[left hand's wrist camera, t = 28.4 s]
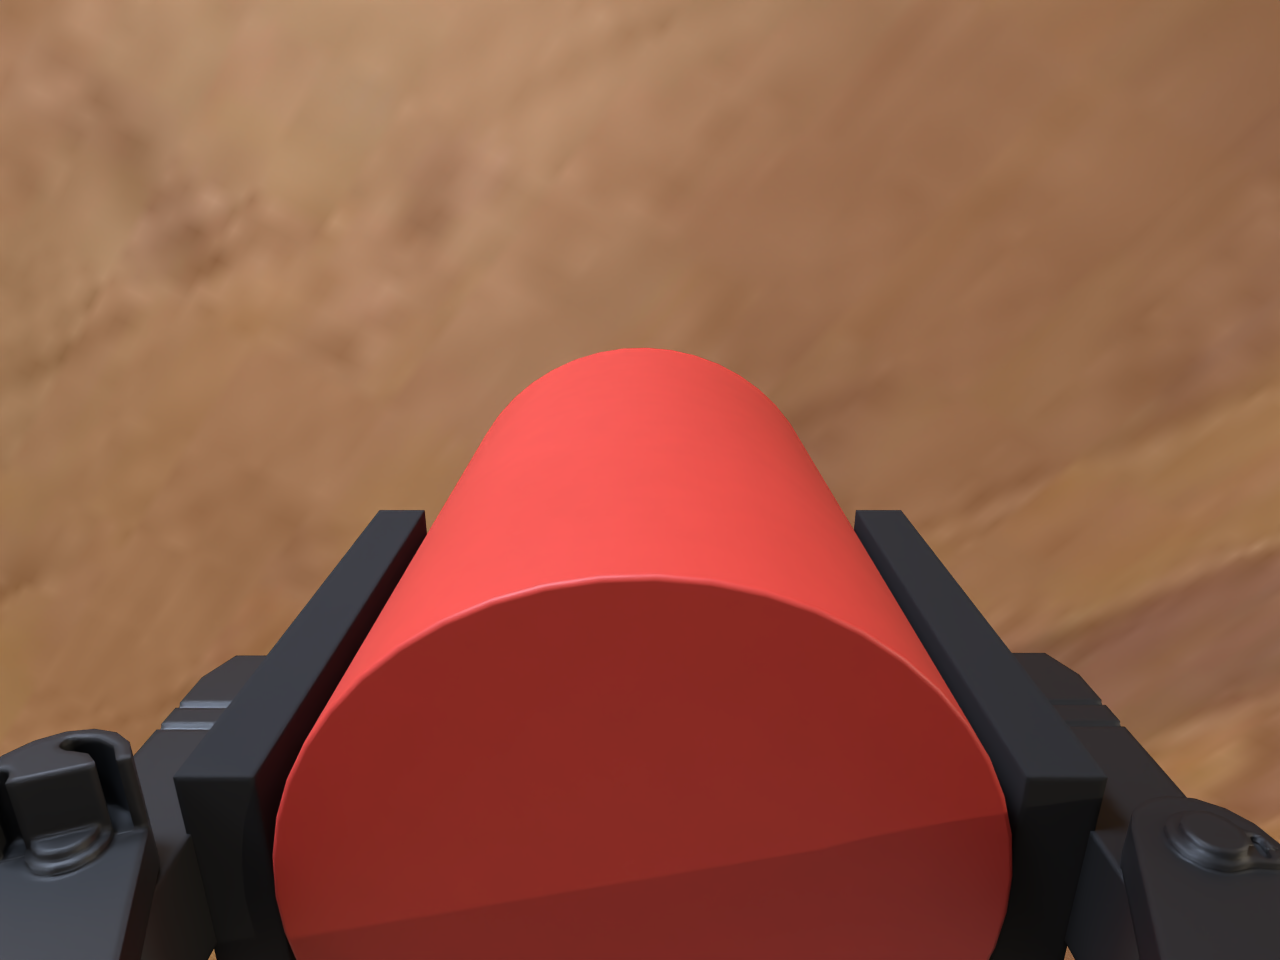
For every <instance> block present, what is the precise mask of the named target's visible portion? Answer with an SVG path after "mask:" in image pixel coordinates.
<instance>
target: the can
mask: <svg viewBox="0 0 1280 960" xmlns="http://www.w3.org/2000/svg"><path fill="white" fill-rule="evenodd" d="M273 869H274V882H275V895H276V900H277V904H278V908H279V912H280V916H281V920H282V924H283V928H284V932H285V934H286V937H287V939H288V941H289V944H290V946H291V948H292V951H293V953H294V955H295V958H296V960H989V958H990V956H991V955H992V953H993V951H994V949H995V946H996V943H997V940H998V937H999V934H1000V931H1001V928H1002V925H1003V922H1004V919H1005V916H1006V913H1007V907H1008V900H1009V894H1010V888H1011V881H1012V833H1011V828H1010V823H1009V818H1008V812H1007V807H1006V802H1005V797H1004V794H1003V791H1002V789H1001V786H1000V783H999V781H998V778H997V775H996V773H995V770H994V767H993V765H992V762H991V759H990V757H989V756H988V754H987V752H986V751H985V749H984V747H983V745H982V744H981V742H980V740H979V739H978V737H977V735H976V733H975V732H974V730H973V728H972V727H971V725H970V723H969V722H968V720H967V718H966V717H965V715H964V713H963V712H962V710H961V708H960V707H959V705H958V703H957V701H956V700H955V698H954V696H953V695H952V693H951V691H950V690H949V688H948V686H947V685H946V683H945V681H944V680H943V678H942V676H941V675H940V673H939V671H938V670H937V668H936V666H935V665H934V663H933V661H932V660H931V658H930V656H929V655H928V653H927V651H926V650H925V648H924V646H923V645H922V643H921V641H920V640H919V638H918V636H917V635H916V633H915V631H914V630H913V628H912V626H911V625H910V623H909V621H908V620H907V618H906V616H905V615H904V613H903V611H902V610H901V608H900V606H899V605H898V603H897V601H896V600H895V598H894V596H893V595H892V593H891V591H890V590H889V588H888V586H887V585H886V583H885V581H884V580H883V578H882V576H881V575H880V573H879V571H878V570H877V568H876V566H875V565H874V563H873V561H872V560H871V558H870V556H869V555H868V553H867V551H866V550H865V548H864V546H863V545H862V543H861V541H860V540H859V538H858V536H857V535H856V533H855V531H854V530H853V528H852V526H851V525H850V523H849V521H848V519H847V518H846V516H845V514H844V513H843V511H842V509H841V508H840V506H839V504H838V503H837V501H836V499H835V498H834V496H833V494H832V493H831V491H830V489H829V488H828V486H827V484H826V483H825V481H824V479H823V478H822V476H821V474H820V473H819V471H818V469H817V468H816V466H815V464H814V463H813V461H812V459H811V458H810V456H809V454H808V453H807V451H806V449H805V448H804V446H803V444H802V443H801V441H800V439H799V438H798V436H797V434H796V433H795V431H794V429H793V428H792V426H791V424H790V423H789V422H788V420H787V419H786V418H785V416H784V415H783V414H782V413H781V411H780V410H779V409H778V408H777V406H776V405H775V404H774V403H773V402H772V401H771V400H770V399H768V398H767V397H766V396H765V395H764V394H763V393H762V392H761V391H760V390H759V389H758V388H756V387H755V386H754V385H752V384H751V383H749V382H748V381H747V380H745V379H744V378H742V377H741V376H740V375H738V374H736V373H734V372H732V371H730V370H728V369H726V368H725V367H723V366H721V365H719V364H717V363H714V362H711V361H708V360H706V359H703V358H700V357H698V356H695V355H690V354H686V353H681V352H677V351H673V350H664V349H653V348H631V349H618V350H612V351H606V352H600V353H596V354H593V355H590V356H586V357H583V358H580V359H576V360H574V361H571V362H569V363H567V364H565V365H563V366H561V367H558V368H556V369H554V370H552V371H550V372H549V373H547V374H546V375H544V376H543V377H541V378H539V379H538V380H536V381H535V382H533V383H532V384H531V385H529V386H528V387H527V388H526V389H525V390H523V391H522V392H521V393H520V394H519V395H517V396H516V397H515V398H514V399H513V400H512V401H511V402H510V404H509V405H508V406H507V407H506V408H505V409H504V410H503V411H502V412H501V413H500V415H499V416H498V417H497V419H496V420H495V422H494V423H493V425H492V426H491V428H490V429H489V431H488V432H487V434H486V435H485V437H484V439H483V440H482V442H481V444H480V446H479V447H478V449H477V451H476V452H475V454H474V456H473V457H472V459H471V461H470V462H469V464H468V466H467V468H466V469H465V471H464V473H463V474H462V476H461V478H460V479H459V481H458V483H457V484H456V486H455V488H454V490H453V491H452V493H451V495H450V496H449V498H448V500H447V501H446V503H445V505H444V506H443V508H442V510H441V512H440V513H439V515H438V517H437V518H436V520H435V522H434V523H433V525H432V527H431V528H430V530H429V532H428V534H427V535H426V537H425V539H424V540H423V542H422V544H421V545H420V547H419V549H418V550H417V552H416V554H415V556H414V557H413V559H412V561H411V562H410V564H409V566H408V567H407V569H406V571H405V572H404V574H403V576H402V578H401V579H400V581H399V583H398V584H397V586H396V588H395V589H394V591H393V593H392V594H391V596H390V598H389V600H388V601H387V603H386V605H385V606H384V608H383V610H382V611H381V613H380V615H379V616H378V618H377V620H376V622H375V623H374V625H373V627H372V628H371V630H370V632H369V633H368V635H367V637H366V639H365V640H364V642H363V644H362V645H361V647H360V649H359V650H358V652H357V654H356V655H355V657H354V659H353V661H352V662H351V664H350V666H349V667H348V669H347V671H346V672H345V674H344V676H343V677H342V679H341V681H340V683H339V684H338V686H337V688H336V689H335V691H334V693H333V694H332V696H331V698H330V699H329V701H328V703H327V705H326V706H325V708H324V710H323V711H322V713H321V715H320V716H319V718H318V720H317V721H316V723H315V725H314V727H313V728H312V730H311V732H310V733H309V735H308V737H307V738H306V740H305V742H304V744H303V746H302V748H301V750H300V752H299V754H298V757H297V759H296V761H295V763H294V765H293V767H292V769H291V771H290V774H289V776H288V778H287V780H286V784H285V788H284V791H283V795H282V799H281V802H280V806H279V810H278V813H277V817H276V826H275V837H274V847H273Z"/></svg>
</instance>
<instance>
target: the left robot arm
mask: <svg viewBox="0 0 1280 960" xmlns="http://www.w3.org/2000/svg"><path fill="white" fill-rule="evenodd" d="M854 531H855V533H856V535H857V536H858V538H859V540H860V541H861V543H862V545H863V546H864V548H865V550H866V551H867V553H868V555H869V556H870V558H871V560H872V561H873V563H874V565H875V566H876V568H877V570H878V571H879V573H880V575H881V576H882V578H883V580H884V581H885V583H886V585H887V586H888V588H889V590H890V591H891V593H892V595H893V596H894V598H895V600H896V601H897V603H898V605H899V606H900V608H901V610H902V611H903V613H904V615H905V616H906V618H907V620H908V621H909V623H910V625H911V626H912V628H913V630H914V631H915V633H916V635H917V636H918V638H919V640H920V641H921V643H922V645H923V646H924V648H925V650H926V651H927V653H928V655H929V656H930V658H931V660H932V661H933V663H934V665H935V666H936V668H937V670H938V671H939V673H940V675H941V676H942V678H943V680H944V681H945V683H946V685H947V686H948V688H949V690H950V691H951V693H952V695H953V696H954V698H955V700H956V701H957V703H958V705H959V707H960V708H961V710H962V712H963V713H964V715H965V717H966V718H967V720H968V722H969V723H970V725H971V727H972V728H973V730H974V732H975V733H976V735H977V737H978V739H979V740H980V742H981V744H982V745H983V747H984V749H985V751H986V752H987V754H988V756H989V757H990V759H991V762H992V765H993V767H994V770H995V773H996V775H997V778H998V781H999V783H1000V786H1001V789H1002V791H1003V794H1004V797H1005V802H1006V807H1007V812H1008V818H1009V823H1010V828H1011V833H1012V881H1011V888H1010V894H1009V900H1008V907H1007V913H1006V916H1005V919H1004V922H1003V925H1002V928H1001V931H1000V934H999V937H998V940H997V943H996V946H995V949H994V951H993V953H992V955H991V956H990V958H989V960H1064V957H1065V953H1066V949H1067V946H1068V948H1069V949H1070V951H1071V953H1072V955H1073V957H1074V958H1075V960H1280V844H1279V843H1278V842H1277V841H1275V840H1274V839H1273V838H1272V837H1270V836H1269V835H1268V834H1267V833H1265V832H1264V831H1263V830H1262V829H1260V828H1259V827H1258V826H1257V825H1255V824H1254V823H1252V822H1250V821H1248V820H1246V819H1244V818H1243V817H1241V816H1239V815H1237V814H1235V813H1233V812H1231V811H1229V810H1227V809H1225V808H1222V807H1219V806H1216V805H1213V804H1210V803H1207V802H1204V801H1201V800H1198V799H1194V798H1187V797H1186V796H1185V795H1184V794H1183V793H1182V791H1181V790H1180V789H1179V788H1178V787H1177V786H1176V785H1175V783H1174V782H1173V781H1172V780H1171V779H1170V778H1169V777H1168V775H1167V774H1166V773H1165V772H1164V771H1163V770H1162V769H1161V767H1160V766H1159V765H1158V764H1157V763H1156V762H1155V761H1154V759H1153V758H1152V757H1151V756H1150V755H1149V754H1148V753H1147V752H1146V750H1145V749H1144V748H1143V747H1142V746H1141V745H1140V744H1139V742H1138V741H1137V740H1136V739H1135V738H1134V737H1133V736H1132V734H1131V733H1130V732H1129V731H1128V730H1127V729H1126V728H1125V727H1121V726H1120V721H1119V720H1118V718H1117V717H1116V716H1115V715H1114V714H1113V713H1112V712H1111V710H1110V709H1109V708H1108V707H1107V706H1106V705H1102V703H1101V699H1100V698H1099V697H1098V696H1097V694H1096V693H1095V692H1094V691H1093V690H1092V689H1091V688H1090V686H1089V685H1088V684H1087V683H1086V682H1085V681H1084V680H1083V678H1082V677H1081V676H1080V675H1079V674H1077V673H1076V672H1074V671H1073V670H1071V669H1069V668H1068V667H1066V666H1065V665H1063V664H1061V663H1060V662H1058V661H1057V660H1055V659H1054V658H1052V657H1050V656H1049V655H1047V654H1046V653H1011V652H1010V650H1009V649H1008V648H1007V646H1006V645H1005V644H1004V643H1003V641H1002V640H1001V639H1000V637H999V636H998V635H997V634H996V632H995V631H994V630H993V628H992V627H991V626H990V624H989V623H988V622H987V621H986V619H985V618H984V617H983V615H982V614H981V613H980V612H979V610H978V609H977V608H976V606H975V605H974V604H973V603H972V601H971V600H970V599H969V597H968V596H967V595H966V594H965V592H964V591H963V590H962V588H961V587H960V586H959V584H958V583H957V582H956V581H955V579H954V578H953V577H952V575H951V574H950V573H949V572H948V570H947V569H946V568H945V566H944V565H943V564H942V563H941V561H940V560H939V559H938V557H937V556H936V555H935V554H934V552H933V551H932V550H931V548H930V547H929V546H928V544H927V543H926V542H925V541H924V539H923V538H922V537H921V535H920V534H919V533H918V532H917V530H916V529H915V528H914V526H913V525H912V524H911V523H910V521H909V520H908V519H907V517H906V516H905V515H904V514H903V512H902V511H901V510H856V515H855V526H854ZM426 535H427V530H426V520H425V510H379V512H378V513H377V514H376V516H375V517H374V518H373V519H372V521H371V522H370V523H369V525H368V526H367V527H366V528H365V530H364V531H363V532H362V534H361V535H360V536H359V537H358V539H357V540H356V541H355V543H354V544H353V545H352V547H351V548H350V549H349V550H348V552H347V553H346V554H345V556H344V557H343V558H342V559H341V561H340V562H339V563H338V565H337V566H336V567H335V568H334V570H333V571H332V572H331V574H330V575H329V576H328V577H327V579H326V580H325V581H324V583H323V584H322V585H321V587H320V588H319V589H318V590H317V592H316V593H315V594H314V596H313V597H312V598H311V599H310V601H309V602H308V603H307V605H306V606H305V607H304V608H303V610H302V611H301V612H300V614H299V615H298V616H297V617H296V619H295V620H294V621H293V623H292V624H291V625H290V627H289V628H288V629H287V630H286V632H285V633H284V634H283V636H282V637H281V638H280V639H279V641H278V642H277V643H276V645H275V646H274V647H273V648H272V650H271V651H270V652H269V654H268V655H267V656H235V657H233V658H232V659H230V660H229V661H227V662H225V663H224V664H222V665H221V666H219V667H218V668H216V669H214V670H213V671H211V672H210V673H208V674H207V675H205V676H203V677H202V678H201V679H200V680H199V681H198V683H197V684H196V685H195V686H194V687H193V688H192V689H191V691H190V692H189V693H188V694H187V695H186V696H185V698H184V699H183V700H182V701H181V702H180V707H179V708H175V709H174V710H173V711H172V712H171V714H170V715H169V716H168V717H167V718H166V719H165V720H164V722H163V723H162V724H161V729H160V730H156V731H155V732H154V733H153V734H152V735H151V737H150V738H149V739H148V740H147V741H146V742H145V743H144V745H143V746H142V747H141V748H140V749H139V750H138V752H137V753H136V754H135V755H134V756H133V754H132V750H131V746H130V742H129V741H127V740H126V739H125V738H123V737H122V736H121V735H119V734H118V733H117V732H111V731H105V730H98V729H88V730H78V731H68V732H63V733H60V734H56V735H53V736H49V737H46V738H42V739H39V740H35V741H33V742H30V743H28V744H26V745H24V746H22V747H20V748H17V749H15V750H13V751H11V752H9V753H7V754H4V755H2V756H1V757H0V960H208V958H209V957H210V955H211V953H212V951H213V949H214V950H215V954H216V958H217V960H296V958H295V955H294V953H293V951H292V948H291V946H290V944H289V941H288V939H287V937H286V934H285V932H284V928H283V924H282V920H281V916H280V912H279V908H278V904H277V900H276V895H275V882H274V869H273V847H274V837H275V826H276V817H277V813H278V810H279V806H280V802H281V799H282V795H283V791H284V788H285V784H286V780H287V778H288V776H289V774H290V771H291V769H292V767H293V765H294V763H295V761H296V759H297V757H298V754H299V752H300V750H301V748H302V746H303V744H304V742H305V740H306V738H307V737H308V735H309V733H310V732H311V730H312V728H313V727H314V725H315V723H316V721H317V720H318V718H319V716H320V715H321V713H322V711H323V710H324V708H325V706H326V705H327V703H328V701H329V699H330V698H331V696H332V694H333V693H334V691H335V689H336V688H337V686H338V684H339V683H340V681H341V679H342V677H343V676H344V674H345V672H346V671H347V669H348V667H349V666H350V664H351V662H352V661H353V659H354V657H355V655H356V654H357V652H358V650H359V649H360V647H361V645H362V644H363V642H364V640H365V639H366V637H367V635H368V633H369V632H370V630H371V628H372V627H373V625H374V623H375V622H376V620H377V618H378V616H379V615H380V613H381V611H382V610H383V608H384V606H385V605H386V603H387V601H388V600H389V598H390V596H391V594H392V593H393V591H394V589H395V588H396V586H397V584H398V583H399V581H400V579H401V578H402V576H403V574H404V572H405V571H406V569H407V567H408V566H409V564H410V562H411V561H412V559H413V557H414V556H415V554H416V552H417V550H418V549H419V547H420V545H421V544H422V542H423V540H424V539H425V537H426Z"/></svg>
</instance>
